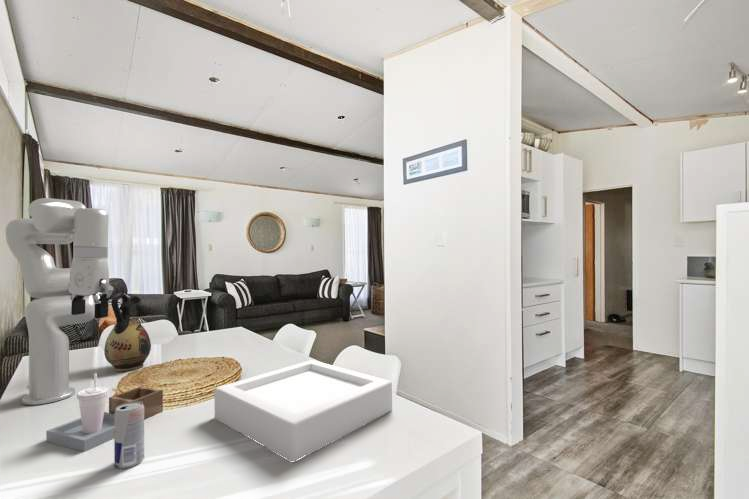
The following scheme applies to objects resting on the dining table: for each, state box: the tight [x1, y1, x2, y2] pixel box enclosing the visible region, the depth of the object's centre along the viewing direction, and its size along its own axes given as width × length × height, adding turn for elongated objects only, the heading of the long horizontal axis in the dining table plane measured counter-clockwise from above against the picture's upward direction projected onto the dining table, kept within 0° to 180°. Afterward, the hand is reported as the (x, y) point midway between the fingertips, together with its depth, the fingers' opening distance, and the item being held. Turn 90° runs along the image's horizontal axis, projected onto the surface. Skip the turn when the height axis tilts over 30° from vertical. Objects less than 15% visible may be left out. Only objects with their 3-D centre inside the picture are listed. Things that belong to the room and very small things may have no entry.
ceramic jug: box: [103, 293, 152, 372], centre depth 146 cm, size 17×15×30 cm
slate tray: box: [45, 411, 114, 452], centre depth 92 cm, size 14×12×2 cm
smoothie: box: [76, 372, 110, 433], centre depth 92 cm, size 6×6×14 cm
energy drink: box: [113, 402, 145, 470], centre depth 80 cm, size 5×5×12 cm
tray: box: [213, 359, 393, 462], centre depth 103 cm, size 35×35×9 cm
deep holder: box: [108, 386, 164, 421], centre depth 103 cm, size 9×9×6 cm
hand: (89, 315), depth 101 cm, fingers open, 9 cm apart
